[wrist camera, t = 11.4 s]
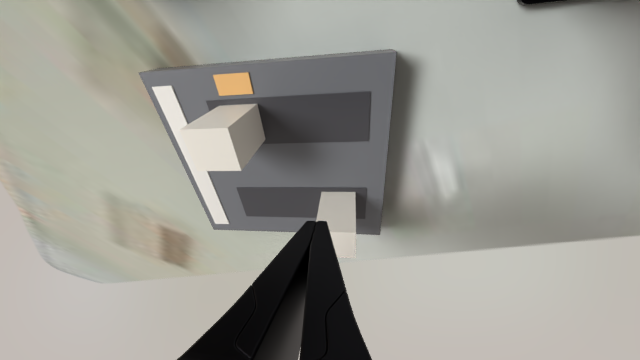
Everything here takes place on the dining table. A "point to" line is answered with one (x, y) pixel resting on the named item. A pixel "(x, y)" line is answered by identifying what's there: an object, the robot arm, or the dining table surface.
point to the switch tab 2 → (340, 221)
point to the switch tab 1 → (224, 137)
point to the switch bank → (288, 135)
